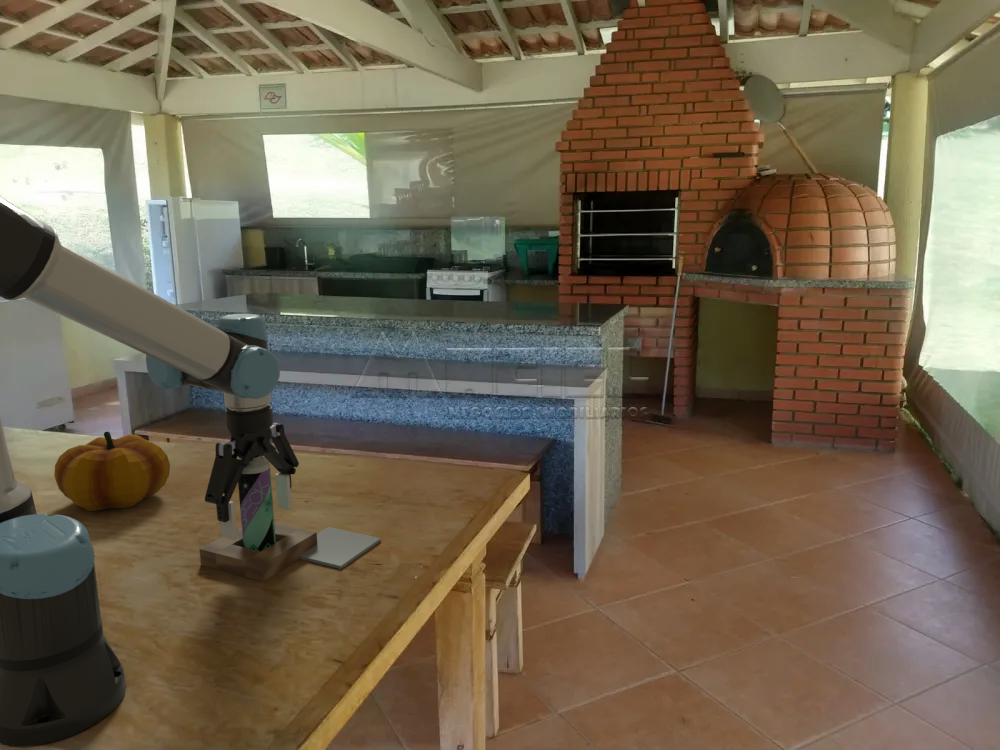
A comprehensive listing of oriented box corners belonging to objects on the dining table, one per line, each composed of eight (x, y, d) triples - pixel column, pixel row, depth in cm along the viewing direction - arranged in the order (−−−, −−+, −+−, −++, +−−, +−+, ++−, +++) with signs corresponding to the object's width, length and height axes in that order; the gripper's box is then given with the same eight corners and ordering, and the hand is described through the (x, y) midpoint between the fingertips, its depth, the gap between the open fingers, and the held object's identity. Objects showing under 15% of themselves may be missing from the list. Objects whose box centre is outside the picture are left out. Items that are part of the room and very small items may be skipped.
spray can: (242, 552, 134) (233, 446, 130) (274, 546, 137) (266, 442, 132) (246, 565, 130) (237, 455, 125) (279, 559, 132) (270, 451, 127)
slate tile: (340, 569, 128) (340, 565, 128) (286, 555, 133) (285, 552, 133) (380, 541, 139) (380, 538, 139) (328, 529, 144) (328, 526, 144)
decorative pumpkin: (34, 516, 151) (23, 445, 147) (114, 478, 171) (106, 415, 168) (120, 526, 146) (111, 453, 142) (191, 485, 167) (185, 421, 163)
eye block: (263, 581, 124) (261, 565, 123) (201, 564, 130) (199, 548, 129) (317, 547, 136) (316, 532, 136) (258, 533, 142) (257, 518, 142)
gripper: (208, 428, 114) (220, 555, 119) (313, 391, 136) (320, 500, 141) (172, 422, 118) (186, 547, 122) (281, 387, 139) (289, 494, 144)
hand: (258, 522), depth 132 cm, fingers open, 13 cm apart
